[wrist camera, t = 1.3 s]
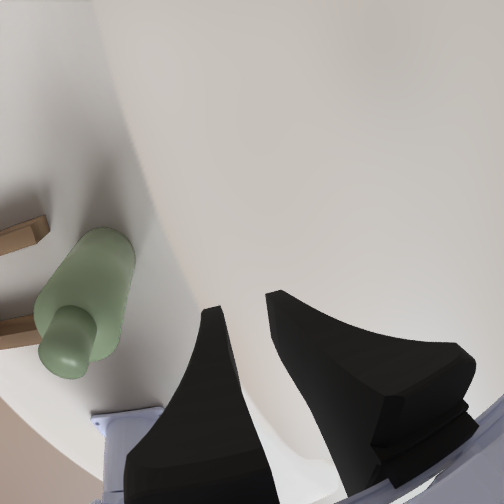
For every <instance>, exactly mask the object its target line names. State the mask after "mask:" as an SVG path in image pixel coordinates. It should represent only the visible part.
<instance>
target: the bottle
mask: <svg viewBox="0 0 504 504" xmlns="http://www.w3.org/2000/svg"><path fill="white" fill-rule="evenodd" d="M134 268H135V253H134V250H133V247H132V245H131V243H130V242H129V240H128V239H127V238H126V237H125V236H124V235H123V234H121V233H120V232H118V231H116V230H113V229H110V228H96V229H93V230H90V231H89V232H87V233H86V234H85V235H83V236H82V238H81V239H80V240H79V241H78V243H77V244H76V245H75V246H74V248H73V249H72V250H71V252H70V253H69V254H68V255H67V257H66V258H65V259H64V261H63V262H62V263H61V265H60V266H59V267H58V269H57V270H56V271H55V273H54V274H53V275H52V277H51V278H50V280H49V281H48V282H47V284H46V285H45V287H44V288H43V290H42V291H41V293H40V294H39V296H38V297H37V299H36V301H35V305H34V321H35V324H36V327H37V330H38V332H39V334H40V335H41V337H42V340H41V343H40V345H39V348H38V354H39V358H40V360H41V362H42V363H43V365H44V366H45V367H46V368H47V369H48V370H49V371H50V372H52V373H53V374H55V375H56V376H59V377H61V378H65V379H78V378H80V377H82V376H83V375H84V374H85V373H86V372H87V369H88V365H89V362H95V361H99V360H102V359H104V358H106V357H107V356H109V355H110V354H111V353H112V352H113V351H114V350H115V348H116V347H117V345H118V342H119V339H120V333H121V328H122V323H123V317H124V312H125V308H126V303H127V298H128V294H129V289H130V285H131V280H132V276H133V272H134Z"/></svg>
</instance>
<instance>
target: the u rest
mask: <svg viewBox="0 0 504 504" xmlns="http://www.w3.org/2000/svg"><path fill="white" fill-rule="evenodd" d="M49 232H50V229H49V226H48V223H47V220H46V216H45V215H43V216H40V217H37V218H34V219H31V220H29V221H26V222H23V223H20V224H18V225H15V226H12V227H9V228H7V229H4V230H2V231H0V256H1V255H4V254H7V253H10V252H13V251H16V250H19V249H22V248H25V247H28V246H31V245H35V244H37V243H38V242H39V241H40V240H41V239H42V238H43V237H44V236H46V235H47V234H48V233H49ZM41 340H42V337H41V335H40V334H39V332H38V330H37V327H36V324H35V321H34V314H32V315H27V316H23V317H18V318H13V319H9V320H4V321H0V350H3V349H9V348H16V347H23V346H29V345H35V344H40V343H41Z"/></svg>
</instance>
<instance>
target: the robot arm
mask: <svg viewBox="0 0 504 504" xmlns="http://www.w3.org/2000/svg"><path fill="white" fill-rule="evenodd" d="M265 295H266V303H267V310H268V317H269V324H270V332H271V338H272V340H273V343H274V345H275V348H276V350H277V352H278V355H279V357H280V359H281V361H282V363H283V364H284V366H285V368H286V369H287V371H288V373H289V375H290V376H291V378H292V379H293V381H294V383H295V385H296V386H297V388H298V389H299V391H300V393H301V394H302V396H303V398H304V399H305V401H306V403H307V405H308V406H309V408H310V410H311V412H312V414H313V416H314V418H315V421H316V423H317V425H318V427H319V429H320V431H321V434H322V436H323V438H324V440H325V443H326V445H327V447H328V449H329V452H330V454H331V456H332V459H333V461H334V464H335V466H336V468H337V471H338V473H339V476H340V478H341V480H342V483H343V486H344V488H345V491H346V493H347V496H348V498H346V499H344V500H342V501H339V502H337V503H334V504H389V503H391V502H393V501H395V500H397V499H398V498H400V497H402V496H404V495H405V494H407V493H409V492H410V491H412V490H414V489H415V488H417V487H418V486H420V485H422V484H423V483H424V482H426V481H428V480H429V479H431V478H432V477H434V476H435V475H437V474H438V473H439V472H440V473H439V474H438V475H437V476H436V477H435V479H434V481H433V482H432V483H431V485H430V486H429V487H428V488H427V489H426V490H425V491H424V492H422V493H420V494H419V495H417V496H415V497H414V498H412V499H410V500H408V501H407V502H405V503H403V504H504V394H503V395H502V396H501V397H500V398H499V399H498V400H497V401H496V402H495V403H494V404H492V405H491V406H490V407H489V408H488V409H487V410H486V411H485V412H483V413H482V414H481V415H480V416H479V417H478V418H476V419H475V420H474V419H473V418H472V417H471V416H470V415H469V414H468V413H467V412H466V411H467V410H468V408H469V406H468V404H467V403H466V402H465V401H464V400H463V398H464V396H465V394H466V392H467V390H468V388H469V386H470V384H471V382H472V379H473V377H474V374H475V371H476V361H475V359H474V358H473V357H472V356H470V355H469V354H468V353H467V352H466V351H465V350H464V349H463V348H461V347H460V346H459V345H458V344H457V343H449V342H423V341H415V340H407V339H401V338H395V337H391V336H386V335H381V334H377V333H374V332H370V331H367V330H364V329H361V328H358V327H355V326H352V325H349V324H347V323H344V322H342V321H339V320H337V319H335V318H333V317H330V316H328V315H326V314H324V313H322V312H320V311H318V310H316V309H314V308H312V307H311V306H309V305H307V304H305V303H303V302H302V301H300V300H298V299H296V298H295V297H293V296H291V295H290V294H288V293H286V292H285V291H283V290H278V291H274V292H271V293H267V294H265ZM90 420H91V422H92V423H93V424H94V425H95V427H96V428H97V429H98V430H99V431H100V433H101V434H102V435H103V436H104V437H105V452H104V474H103V496H102V503H101V500H98V499H94V502H93V501H92V502H90V503H89V504H280V502H279V499H278V495H277V491H276V487H275V483H274V480H273V476H272V472H271V469H270V466H269V463H268V460H267V458H266V455H265V452H264V450H263V447H262V444H261V442H260V440H259V437H258V435H257V432H256V429H255V427H254V424H253V422H252V419H251V416H250V414H249V411H248V408H247V406H246V403H245V400H244V397H243V394H242V391H241V386H240V381H239V376H238V371H237V367H236V363H235V359H234V355H233V351H232V347H231V344H230V339H229V335H228V331H227V326H226V322H225V318H224V314H223V311H222V309H221V306H216V307H212V308H208V309H204V310H203V311H202V312H201V322H200V328H199V332H198V336H197V340H196V344H195V347H194V350H193V353H192V356H191V359H190V361H189V364H188V367H187V369H186V371H185V374H184V376H183V378H182V380H181V382H180V384H179V386H178V388H177V390H176V392H175V393H174V395H173V397H172V399H171V400H170V402H169V404H168V405H167V407H166V408H165V410H164V409H163V408H162V407H154V408H148V409H141V410H135V411H127V412H120V413H111V414H102V415H93V416H91V419H90ZM442 470H443V471H442ZM441 471H442V472H441Z"/></svg>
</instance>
